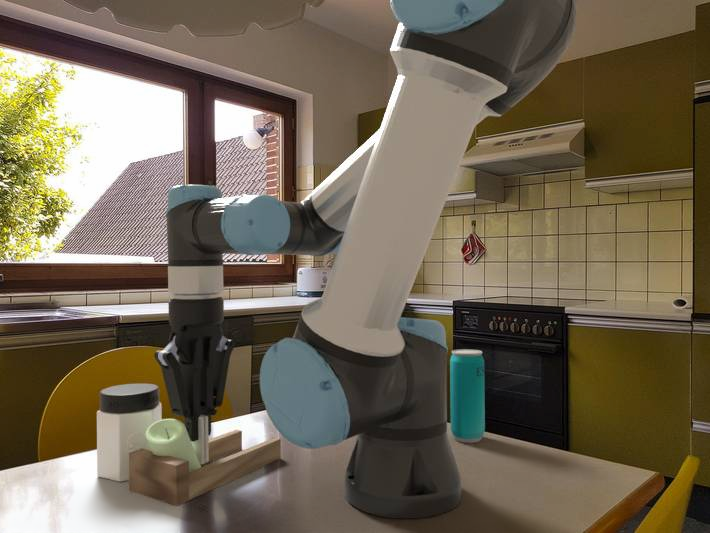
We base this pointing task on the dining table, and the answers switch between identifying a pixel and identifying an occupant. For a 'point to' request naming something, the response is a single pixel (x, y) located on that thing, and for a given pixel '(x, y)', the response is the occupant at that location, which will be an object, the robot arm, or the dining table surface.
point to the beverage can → (467, 395)
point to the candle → (172, 441)
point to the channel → (179, 485)
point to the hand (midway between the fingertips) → (198, 460)
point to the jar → (124, 426)
